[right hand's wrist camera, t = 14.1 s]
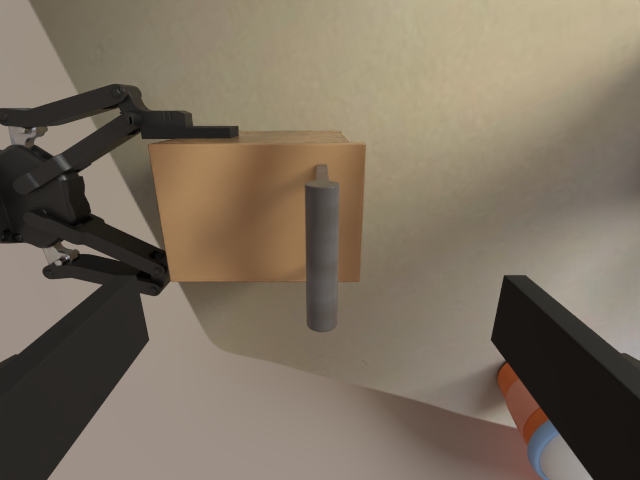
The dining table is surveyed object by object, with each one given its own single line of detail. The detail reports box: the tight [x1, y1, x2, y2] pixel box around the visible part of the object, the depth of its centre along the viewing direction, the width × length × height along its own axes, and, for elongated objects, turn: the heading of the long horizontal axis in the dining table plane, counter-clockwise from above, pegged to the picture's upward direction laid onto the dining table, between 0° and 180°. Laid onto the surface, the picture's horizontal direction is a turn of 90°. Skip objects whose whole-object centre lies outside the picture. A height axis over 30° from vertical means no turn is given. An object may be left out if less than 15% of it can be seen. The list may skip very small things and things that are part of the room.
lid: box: [148, 143, 366, 332], centre depth 21 cm, size 14×10×9 cm
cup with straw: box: [498, 363, 593, 480], centre depth 35 cm, size 9×9×18 cm
